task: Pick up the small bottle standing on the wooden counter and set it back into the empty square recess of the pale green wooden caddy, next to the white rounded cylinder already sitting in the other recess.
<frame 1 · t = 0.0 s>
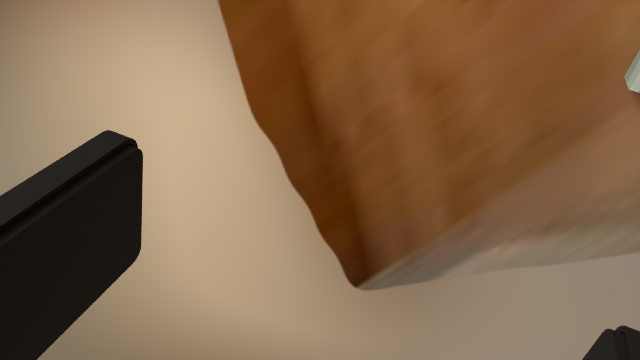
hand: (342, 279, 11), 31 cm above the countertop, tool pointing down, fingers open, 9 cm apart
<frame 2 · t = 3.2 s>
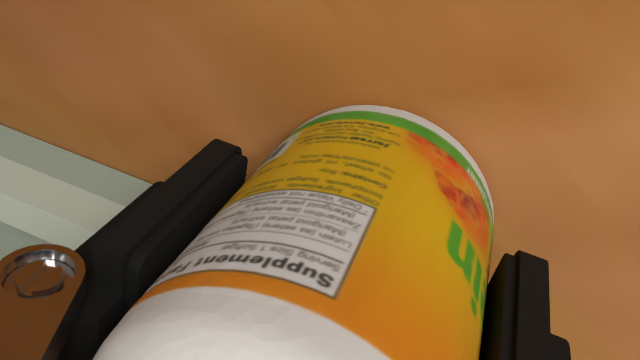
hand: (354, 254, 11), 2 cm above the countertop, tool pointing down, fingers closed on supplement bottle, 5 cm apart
caddy: (57, 338, 21), on the countertop
supplement bottle: (379, 200, 13), on the countertop, touching gripper
when the fingers open (5 cm above the countertop, at t = 8.1 s): supplement bottle drops 1 cm, resting on caddy.
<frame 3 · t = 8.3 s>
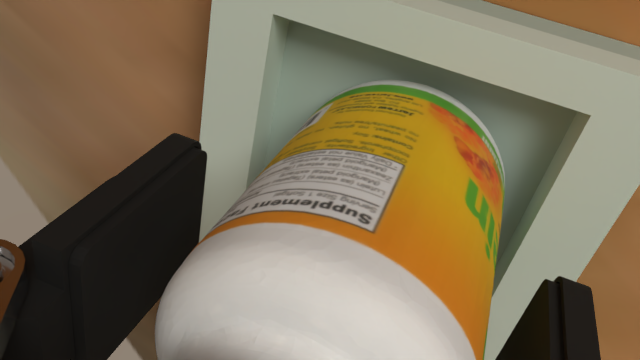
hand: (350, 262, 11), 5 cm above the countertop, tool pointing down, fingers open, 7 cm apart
caddy: (362, 265, 18), on the countertop
supplement bottle: (400, 168, 14), point 1 cm above the countertop, touching caddy
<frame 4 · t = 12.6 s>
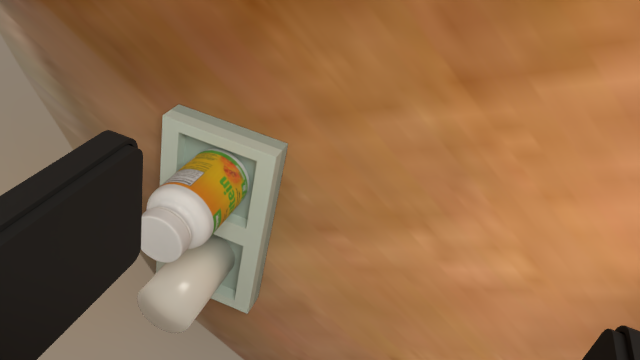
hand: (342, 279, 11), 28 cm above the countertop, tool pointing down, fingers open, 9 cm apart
caddy: (221, 208, 50), on the countertop
white rounded cylinder: (211, 252, 51), point 1 cm above the countertop, touching caddy
supplement bottle: (223, 174, 46), point 1 cm above the countertop, touching caddy
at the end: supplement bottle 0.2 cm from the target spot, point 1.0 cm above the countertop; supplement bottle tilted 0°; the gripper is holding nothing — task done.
